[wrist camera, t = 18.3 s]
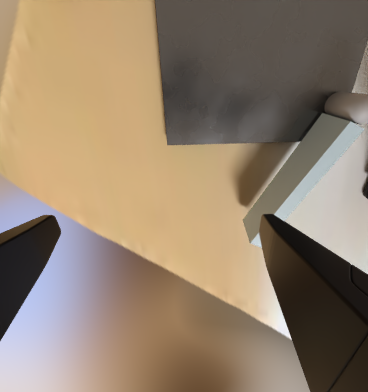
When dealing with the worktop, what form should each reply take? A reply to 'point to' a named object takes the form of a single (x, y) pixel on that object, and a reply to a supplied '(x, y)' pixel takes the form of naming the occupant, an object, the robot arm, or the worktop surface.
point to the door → (310, 159)
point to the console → (255, 66)
